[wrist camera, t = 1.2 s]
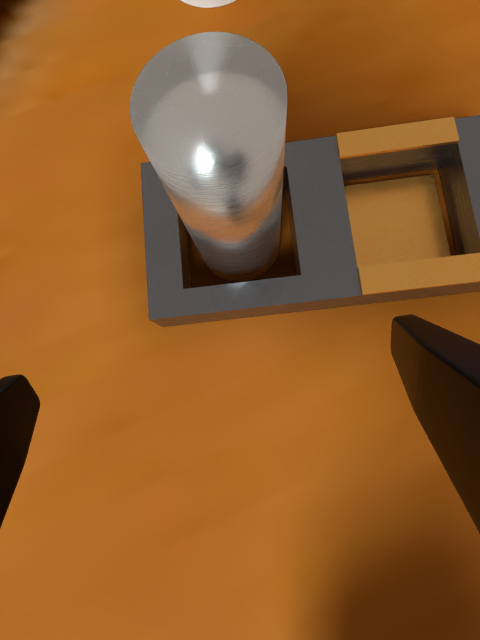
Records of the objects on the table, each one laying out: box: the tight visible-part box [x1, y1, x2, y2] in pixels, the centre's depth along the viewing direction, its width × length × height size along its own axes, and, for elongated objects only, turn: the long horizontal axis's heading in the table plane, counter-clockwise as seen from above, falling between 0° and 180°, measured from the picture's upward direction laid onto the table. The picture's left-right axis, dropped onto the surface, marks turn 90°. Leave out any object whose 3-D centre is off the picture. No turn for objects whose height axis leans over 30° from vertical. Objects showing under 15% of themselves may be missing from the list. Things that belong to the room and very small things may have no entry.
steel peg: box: [130, 32, 288, 282], centre depth 18 cm, size 5×5×12 cm
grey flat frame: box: [141, 115, 480, 327], centre depth 22 cm, size 20×10×3 cm, turn 96°
